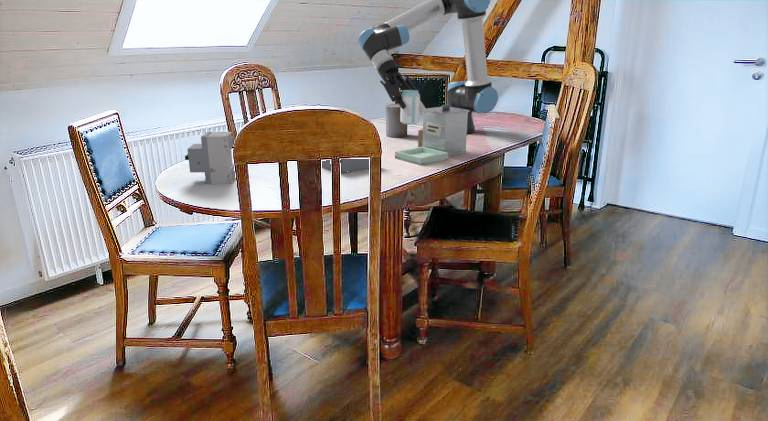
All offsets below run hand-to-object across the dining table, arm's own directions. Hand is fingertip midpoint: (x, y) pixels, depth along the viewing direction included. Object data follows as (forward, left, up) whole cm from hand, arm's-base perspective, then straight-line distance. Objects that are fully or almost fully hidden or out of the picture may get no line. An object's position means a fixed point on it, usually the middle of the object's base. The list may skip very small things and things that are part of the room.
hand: (417, 113), depth 199 cm
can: (0, -4, -4) cm, 6 cm away
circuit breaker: (+73, -17, -17) cm, 77 cm away
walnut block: (-16, -11, -17) cm, 26 cm away
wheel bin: (+28, -5, -16) cm, 33 cm away
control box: (-14, +1, -17) cm, 22 cm away
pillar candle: (-22, -37, -17) cm, 46 cm away
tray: (0, +3, -17) cm, 17 cm away
